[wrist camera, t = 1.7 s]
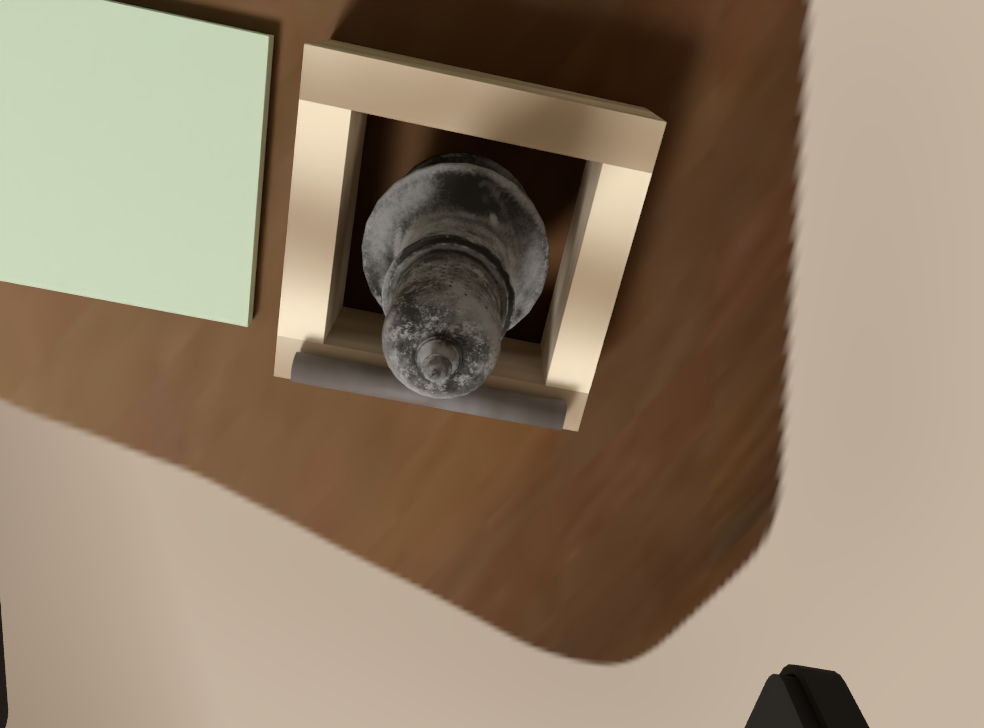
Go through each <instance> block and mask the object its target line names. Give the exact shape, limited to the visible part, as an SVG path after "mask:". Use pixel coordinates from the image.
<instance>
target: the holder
mask: <svg viewBox="0 0 984 728" xmlns="http://www.w3.org/2000/svg"><path fill="white" fill-rule="evenodd" d="M368 114H372V115H376V116H381V117H386V118H391V119H395V120H400V121H405V122H410V123H414V124H419V125H424V126H429V127H433V128H438V129H443V130H448V131H452V132H457V133H462V134H467V135H471V136H476V137H481V138H486V139H490V140H495V141H500V142H505V143H509V144H514V145H519V146H524V147H528V148H533V149H538V150H543V151H547V152H552V153H557V154H562V155H566V156H571V157H576V158H581V159H585V160H586V164H585V168H584V172H583V176H582V180H581V183H580V187H579V191H578V195H577V199H576V203H575V207H574V211H573V215H572V219H571V223H570V227H569V231H568V235H567V239H566V243H565V247H564V251H563V255H562V259H561V263H560V267H559V271H558V275H557V279H556V283H555V287H554V291H553V295H552V299H551V303H550V307H549V311H548V315H547V319H546V323H545V327H544V331H543V335H542V339H541V343H540V344H537V343H532V342H527V341H521V340H516V339H511V338H506V337H503V338H502V340H501V350H500V354H499V357H498V361H497V364H496V366H495V367H494V369H493V371H492V372H491V374H490V375H489V377H488V379H487V380H486V381H485V382H484V383H483V384H482V385H481V386H479V387H478V388H477V389H476V390H474V391H472V392H470V393H468V394H466V395H464V396H460V397H456V398H452V399H435V398H431V397H427V396H423V395H420V394H418V393H416V392H414V391H412V390H410V389H408V388H407V387H406V386H405V385H404V384H403V383H401V382H400V381H399V380H398V379H397V378H396V377H395V375H394V374H393V372H392V371H391V369H390V368H389V366H388V364H387V361H386V358H385V355H384V352H383V346H382V329H383V325H384V320H385V314H380V313H375V312H369V311H364V310H359V309H354V308H348V307H343V301H344V293H345V285H346V277H347V270H348V262H349V254H350V246H351V239H352V231H353V223H354V215H355V208H356V200H357V192H358V184H359V177H360V169H361V161H362V153H363V146H364V138H365V130H366V122H367V115H368ZM666 123H667V122H666V121H664V120H663V119H661V118H660V117H658V116H657V115H656V114H654V113H653V112H651V111H650V110H648V109H647V108H644V107H640V106H635V105H630V104H626V103H621V102H617V101H612V100H607V99H603V98H598V97H593V96H589V95H584V94H580V93H575V92H570V91H566V90H561V89H557V88H552V87H547V86H543V85H538V84H534V83H529V82H524V81H520V80H515V79H511V78H506V77H501V76H497V75H492V74H488V73H483V72H478V71H474V70H469V69H465V68H460V67H455V66H451V65H446V64H442V63H437V62H432V61H428V60H423V59H419V58H414V57H409V56H405V55H400V54H396V53H391V52H386V51H382V50H377V49H373V48H368V47H363V46H359V45H354V44H350V43H345V42H340V41H336V40H331V39H328V40H322V41H317V42H311V43H306V44H304V53H303V64H302V75H301V86H300V96H299V107H298V118H297V129H296V140H295V151H294V161H293V172H292V183H291V194H290V205H289V216H288V227H287V237H286V248H285V259H284V270H283V281H282V292H281V302H280V313H279V324H278V335H277V346H276V357H275V367H274V376H277V377H283V378H288V379H291V382H297V383H302V384H308V385H313V386H319V387H324V388H330V389H335V390H341V391H346V392H352V393H357V394H363V395H368V396H374V397H379V398H385V399H390V400H396V401H401V402H407V403H412V404H418V405H423V406H429V407H434V408H440V409H445V410H451V411H456V412H461V413H467V414H472V415H478V416H483V417H489V418H494V419H500V420H505V421H511V422H516V423H522V424H527V425H533V426H538V427H544V428H549V429H555V430H562V429H568V430H573V431H578V429H579V425H580V422H581V418H582V415H583V411H584V408H585V404H586V401H587V397H588V394H589V391H590V387H591V384H592V380H593V377H594V373H595V370H596V366H597V363H598V359H599V356H600V352H601V349H602V345H603V342H604V338H605V335H606V332H607V328H608V325H609V321H610V318H611V314H612V311H613V307H614V304H615V300H616V297H617V293H618V290H619V286H620V283H621V279H622V276H623V273H624V269H625V266H626V262H627V259H628V255H629V252H630V248H631V245H632V241H633V238H634V234H635V231H636V227H637V224H638V220H639V217H640V214H641V210H642V207H643V203H644V200H645V196H646V193H647V189H648V186H649V182H650V179H651V175H652V172H653V168H654V165H655V161H656V158H657V155H658V151H659V148H660V144H661V141H662V137H663V134H664V130H665V127H666Z"/></svg>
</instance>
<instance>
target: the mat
mask: <svg viewBox="0 0 984 728" xmlns="http://www.w3.org/2000/svg"><path fill="white" fill-rule="evenodd" d="M273 43H274V35H269V34H264V33H260V32H255V31H250V30H246V29H241V28H237V27H232V26H227V25H223V24H218V23H213V22H209V21H204V20H200V19H195V18H190V17H186V16H181V15H177V14H172V13H167V12H163V11H158V10H153V9H149V8H144V7H140V6H135V5H130V4H126V3H121V2H116V1H112V0H0V281H5V282H11V283H16V284H21V285H27V286H32V287H38V288H43V289H48V290H54V291H59V292H64V293H70V294H75V295H80V296H86V297H91V298H96V299H102V300H107V301H112V302H118V303H123V304H129V305H134V306H139V307H145V308H150V309H155V310H161V311H166V312H171V313H177V314H182V315H187V316H193V317H198V318H203V319H209V320H214V321H219V322H225V323H230V324H236V325H241V326H246V327H248V325H249V324H250V323H251V322H252V318H253V305H254V291H255V278H256V265H257V252H258V239H259V226H260V213H261V200H262V187H263V174H264V161H265V148H266V135H267V122H268V109H269V96H270V82H271V69H272V56H273Z"/></svg>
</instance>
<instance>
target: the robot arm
mask: <svg viewBox="0 0 984 728" xmlns="http://www.w3.org/2000/svg"><path fill="white" fill-rule="evenodd" d="M7 718H8V702H7V688H6V674H5V660H4V646H3V632H2V618H1V604H0V728H5V727H6V723H7ZM745 728H869V726H868V724H867V723H866V720H865V719H864V717H863V715H862V713H861V711H860V709H859V707H858V705H857V704H856V702H855V700H854V698H853V696H852V694H851V692H850V690H849V688H848V687H847V685H846V683H845V681H844V680H843V679H842V677H841V676H840V675H839V674H838V673H836V672H835V671H830V670H824V669H818V668H811V667H805V666H799V665H790V664H789V665H787V666H786V667H784V668H783V669H782V671H781V673H780V674H779V675H778V674H772V675H771V676H770V677H769V678H768V679H767V681H766V683H765V686H764V687H763V689H762V692H761V694H760V696H759V698H758V700H757V702H756V704H755V706H754V709H753V711H752V713H751V715H750V717H749V719H748V721H747V724H746V726H745Z"/></svg>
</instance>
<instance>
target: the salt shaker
mask: <svg viewBox="0 0 984 728" xmlns="http://www.w3.org/2000/svg"><path fill="white" fill-rule="evenodd" d="M549 249H550V247H549V243H548V238H547V234H546V230H545V226H544V222H543V220H542V219H541V217H540V215H539V213H538V211H537V210H536V208H535V206H534V204H533V202H532V201H531V200H530V199H529V197H528V195H527V194H526V192H525V190H524V188H523V186H522V184H521V183H520V182H519V181H518V180H517V179H516V178H515V177H514V176H513V175H512V174H511V173H510V172H509V171H508V170H507V169H506V168H504V167H503V166H501V165H499V164H498V163H496V162H494V161H493V160H491V159H489V158H485V157H482V156H478V155H475V154H471V153H448V154H444V155H441V156H437V157H433V158H430V159H428V160H427V161H425V162H423V163H422V164H420V165H418V166H416V167H415V168H413V169H412V170H411V171H410V172H409V173H408V174H407V175H406V176H405V177H403V178H402V179H400V180H398V181H397V182H395V183H394V184H393V185H392V186H391V187H390V188H389V189H388V190H387V191H386V192H385V194H384V195H383V196H382V197H381V198H380V199H379V200H378V201H377V203H376V205H375V207H374V209H373V211H372V213H371V215H370V217H369V219H368V220H367V222H366V227H365V232H364V237H363V242H362V259H363V270H364V273H365V276H366V279H367V282H368V285H369V288H370V291H371V293H372V294H373V296H374V297H375V299H376V300H377V302H378V303H379V305H380V306H381V308H382V309H383V311H384V314H385V320H384V325H383V329H382V346H383V352H384V355H385V358H386V361H387V364H388V366H389V368H390V369H391V371H392V372H393V374H394V375H395V377H396V378H397V379H398V380H399V381H400V382H401V383H403V384H404V385H405V386H406V387H407V388H408V389H410V390H412V391H414V392H416V393H418V394H420V395H423V396H427V397H431V398H435V399H452V398H456V397H460V396H464V395H466V394H468V393H470V392H472V391H474V390H476V389H477V388H478V387H479V386H481V385H482V384H483V383H484V382H485V381H486V380H487V379H488V377H489V375H490V374H491V372H492V371H493V369H494V367H495V366H496V364H497V361H498V357H499V354H500V350H501V340H502V338H503V337H504V335H505V333H506V332H507V330H509V329H511V328H513V327H514V326H515V325H516V324H517V323H518V322H519V321H520V320H521V319H523V318H524V317H525V316H526V315H527V314H528V313H529V312H530V310H531V309H532V307H533V306H534V304H535V303H536V301H537V300H538V298H539V296H540V295H541V293H542V290H543V287H544V284H545V281H546V278H547V275H548V271H549Z"/></svg>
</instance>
